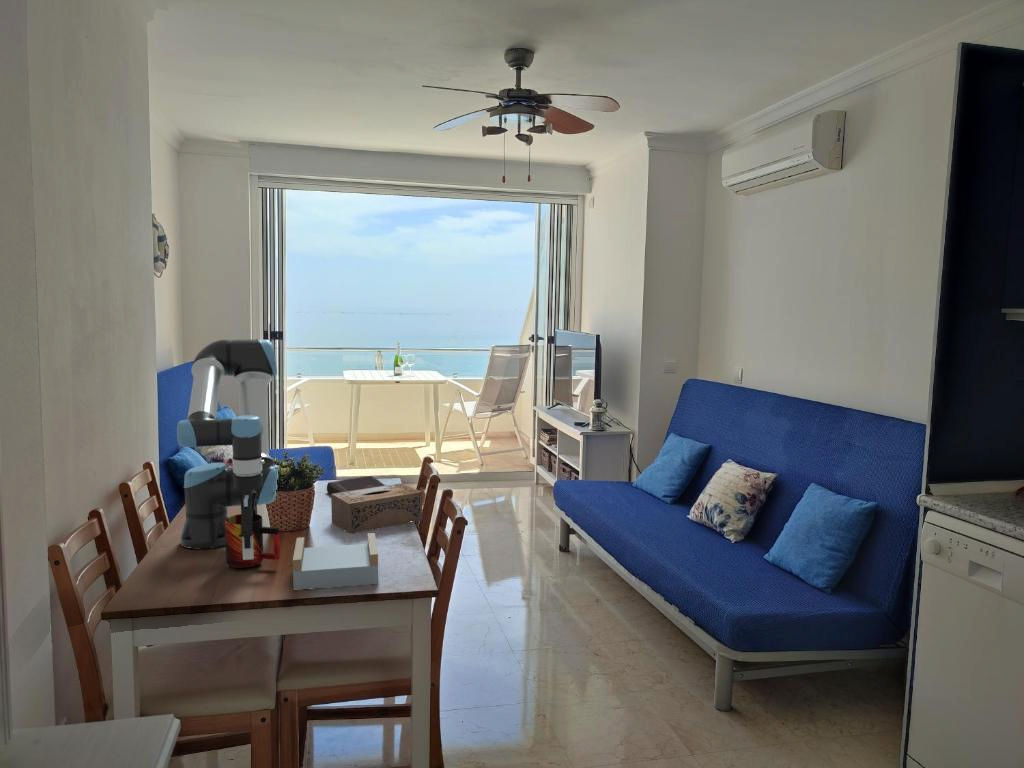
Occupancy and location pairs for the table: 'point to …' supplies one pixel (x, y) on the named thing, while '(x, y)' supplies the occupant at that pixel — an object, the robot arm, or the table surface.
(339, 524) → the tissue box cover
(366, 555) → the notched stand
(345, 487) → the diary
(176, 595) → the table surface
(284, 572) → the table surface
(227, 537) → the mug
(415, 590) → the table surface
